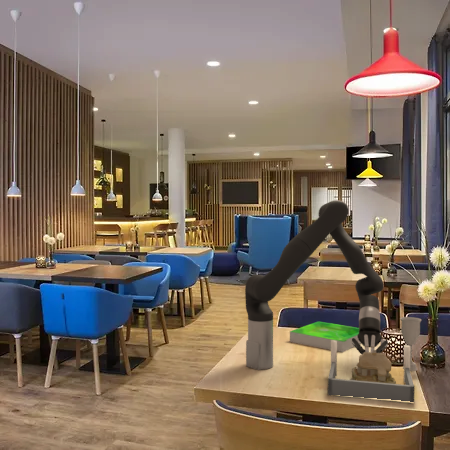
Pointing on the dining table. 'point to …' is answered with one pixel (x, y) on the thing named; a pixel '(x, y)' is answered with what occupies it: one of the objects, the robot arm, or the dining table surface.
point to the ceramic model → (373, 368)
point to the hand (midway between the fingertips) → (369, 364)
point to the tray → (325, 335)
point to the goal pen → (371, 388)
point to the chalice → (410, 335)
